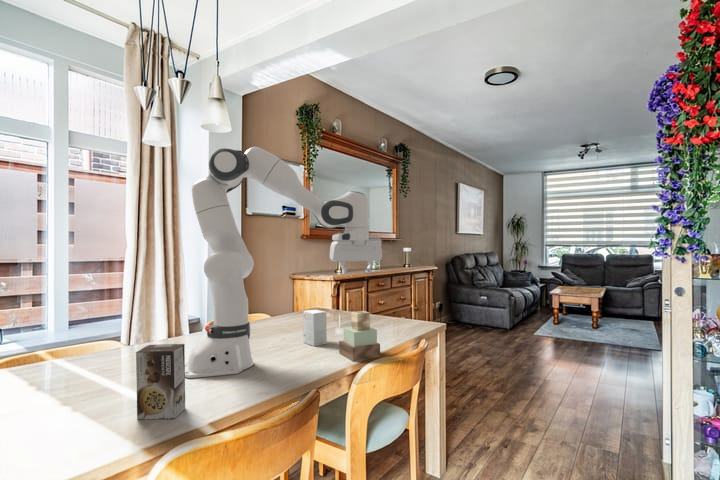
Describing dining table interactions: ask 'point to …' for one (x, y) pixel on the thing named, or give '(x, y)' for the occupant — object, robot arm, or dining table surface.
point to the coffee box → (160, 381)
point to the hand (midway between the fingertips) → (356, 273)
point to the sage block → (360, 337)
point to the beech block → (360, 320)
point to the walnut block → (359, 351)
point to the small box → (314, 327)
